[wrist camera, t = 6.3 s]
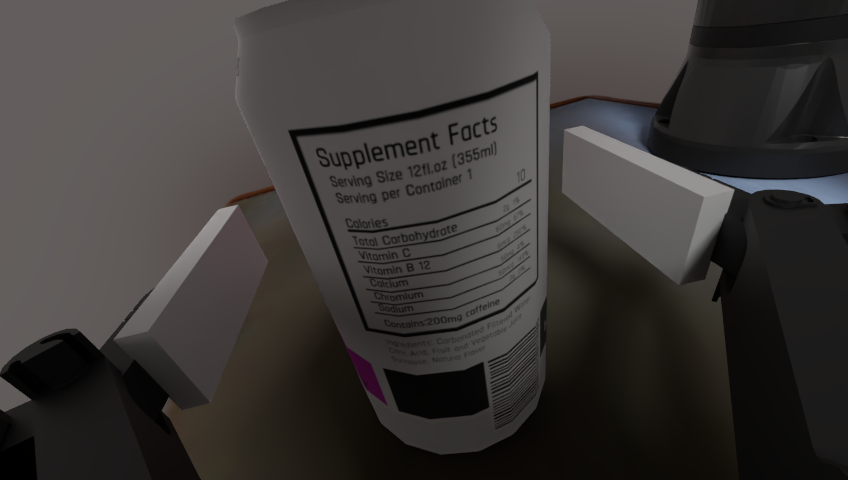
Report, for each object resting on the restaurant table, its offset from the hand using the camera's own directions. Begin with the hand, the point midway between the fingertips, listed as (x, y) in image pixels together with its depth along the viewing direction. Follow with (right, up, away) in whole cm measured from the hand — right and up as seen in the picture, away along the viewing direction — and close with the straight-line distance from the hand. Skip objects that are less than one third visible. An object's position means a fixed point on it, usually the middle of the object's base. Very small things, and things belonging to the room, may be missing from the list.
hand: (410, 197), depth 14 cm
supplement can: (+2, -8, +3) cm, 9 cm away
